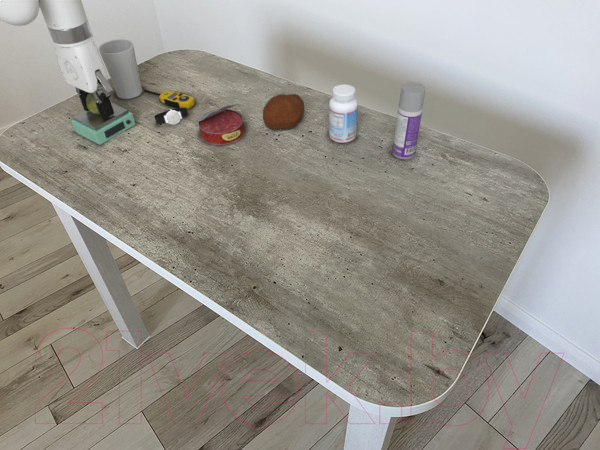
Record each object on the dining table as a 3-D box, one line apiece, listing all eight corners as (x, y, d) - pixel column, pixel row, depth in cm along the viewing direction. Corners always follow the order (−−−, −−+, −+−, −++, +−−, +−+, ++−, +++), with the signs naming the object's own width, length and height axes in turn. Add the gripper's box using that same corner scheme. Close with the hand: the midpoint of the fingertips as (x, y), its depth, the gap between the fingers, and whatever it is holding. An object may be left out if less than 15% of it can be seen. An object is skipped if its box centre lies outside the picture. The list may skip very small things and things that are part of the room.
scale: (100, 145, 106) (96, 134, 104) (75, 132, 110) (70, 120, 108) (136, 124, 112) (133, 113, 109) (110, 112, 116) (107, 101, 114)
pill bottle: (352, 126, 109) (354, 80, 101) (359, 142, 105) (362, 95, 97) (325, 129, 108) (326, 83, 100) (331, 145, 104) (333, 98, 96)
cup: (127, 82, 126) (114, 37, 118) (152, 88, 124) (140, 42, 115) (106, 96, 121) (91, 50, 113) (131, 103, 119) (117, 56, 110)
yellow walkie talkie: (185, 104, 114) (136, 90, 119) (186, 111, 115) (138, 97, 120) (197, 95, 117) (149, 82, 122) (198, 102, 118) (150, 89, 123)
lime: (97, 106, 110) (90, 86, 107) (115, 109, 109) (108, 89, 105) (85, 116, 107) (77, 96, 104) (103, 120, 106) (95, 99, 102)
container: (414, 147, 103) (426, 82, 92) (414, 160, 99) (426, 94, 89) (392, 145, 103) (401, 80, 93) (391, 158, 100) (400, 93, 90)
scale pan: (95, 131, 104) (94, 128, 104) (73, 120, 108) (72, 116, 107) (128, 112, 109) (127, 109, 109) (106, 102, 113) (105, 99, 112)
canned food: (210, 160, 109) (181, 130, 102) (215, 131, 115) (189, 101, 108) (252, 142, 104) (225, 109, 98) (255, 112, 111) (230, 80, 104)
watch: (159, 130, 110) (155, 116, 107) (153, 120, 113) (149, 106, 110) (191, 120, 112) (188, 107, 110) (185, 111, 115) (182, 98, 113)
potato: (313, 122, 111) (313, 92, 105) (282, 143, 105) (280, 113, 100) (286, 110, 115) (285, 80, 109) (254, 129, 109) (251, 99, 104)
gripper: (29, 28, 97) (62, 108, 109) (80, 49, 89) (110, 132, 102) (61, 16, 101) (90, 94, 114) (113, 35, 94) (137, 116, 106)
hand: (99, 111), depth 108 cm, fingers closed on lime, 5 cm apart
